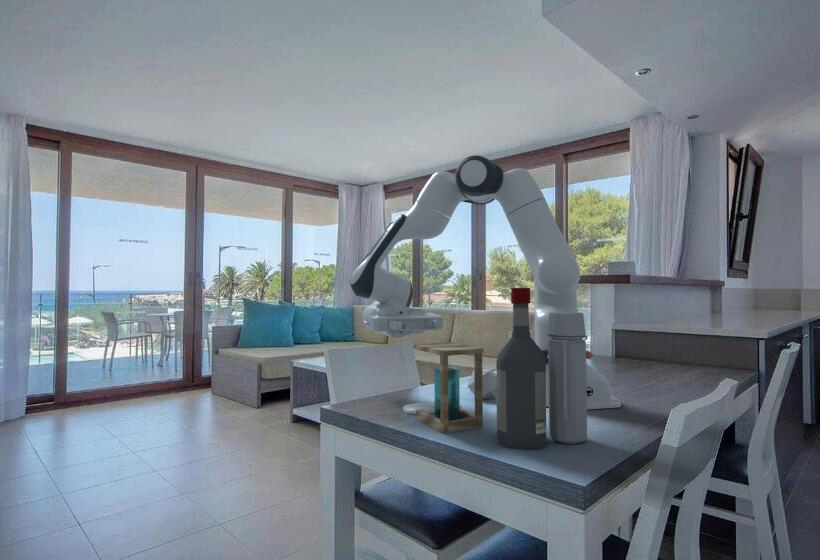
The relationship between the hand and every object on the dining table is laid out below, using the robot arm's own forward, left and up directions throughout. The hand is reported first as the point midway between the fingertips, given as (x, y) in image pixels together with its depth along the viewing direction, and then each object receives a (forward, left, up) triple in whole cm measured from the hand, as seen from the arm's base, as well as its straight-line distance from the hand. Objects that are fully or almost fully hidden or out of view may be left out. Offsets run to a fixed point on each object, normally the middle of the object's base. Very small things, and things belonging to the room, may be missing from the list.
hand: (420, 325), depth 116 cm
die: (-18, -12, -21) cm, 30 cm away
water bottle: (-27, +25, -21) cm, 42 cm away
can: (-5, +11, -21) cm, 24 cm away
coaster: (0, 0, -21) cm, 21 cm away
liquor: (-18, +25, -21) cm, 37 cm away
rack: (-5, +11, -21) cm, 24 cm away
